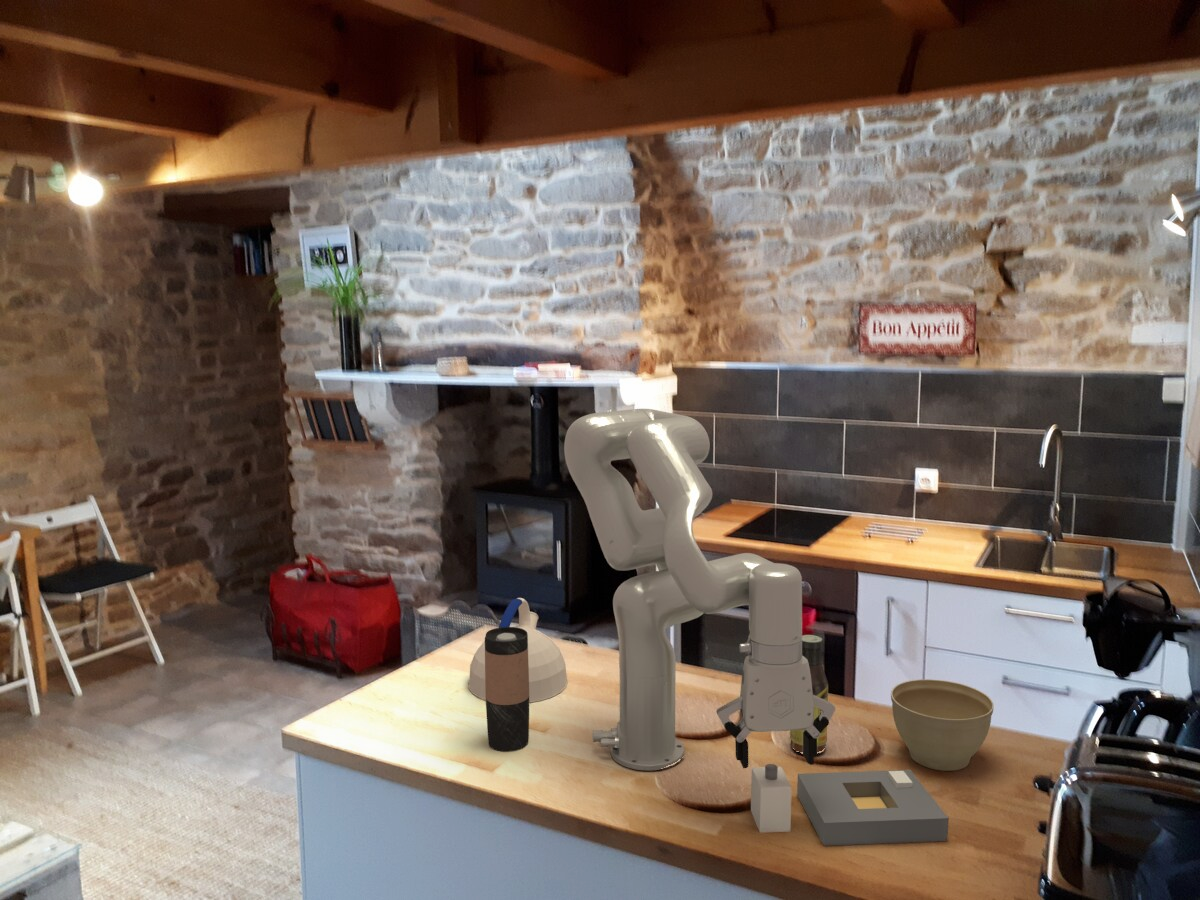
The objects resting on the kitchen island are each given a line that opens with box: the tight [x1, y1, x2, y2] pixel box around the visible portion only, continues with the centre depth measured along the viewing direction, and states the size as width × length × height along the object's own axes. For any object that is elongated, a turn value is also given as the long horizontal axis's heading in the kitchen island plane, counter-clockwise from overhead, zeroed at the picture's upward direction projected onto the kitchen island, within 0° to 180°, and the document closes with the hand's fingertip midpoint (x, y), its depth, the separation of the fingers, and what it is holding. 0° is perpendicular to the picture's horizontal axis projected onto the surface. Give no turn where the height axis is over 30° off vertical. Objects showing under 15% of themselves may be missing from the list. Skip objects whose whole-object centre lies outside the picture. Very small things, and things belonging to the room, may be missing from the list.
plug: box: [750, 763, 793, 834], centre depth 137 cm, size 4×6×9 cm
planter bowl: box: [890, 678, 994, 772], centre depth 155 cm, size 16×16×11 cm
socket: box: [796, 769, 950, 847], centre depth 138 cm, size 18×14×4 cm
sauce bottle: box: [789, 634, 829, 752], centre depth 158 cm, size 6×6×20 cm
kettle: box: [468, 597, 569, 704], centre depth 187 cm, size 20×21×18 cm
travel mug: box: [484, 626, 530, 753], centre depth 161 cm, size 8×8×20 cm
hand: (776, 762), depth 135 cm, fingers open, 9 cm apart
